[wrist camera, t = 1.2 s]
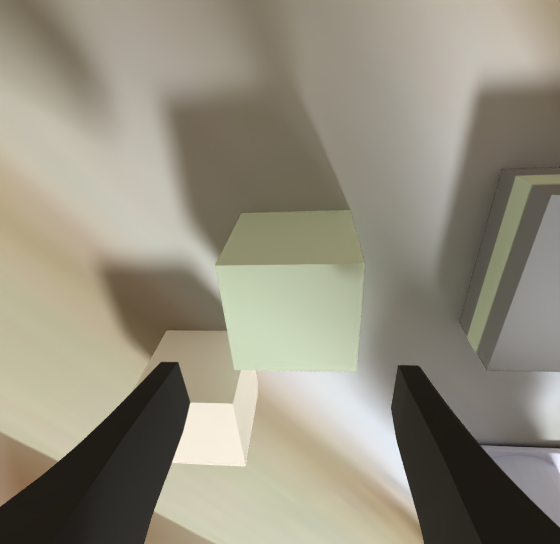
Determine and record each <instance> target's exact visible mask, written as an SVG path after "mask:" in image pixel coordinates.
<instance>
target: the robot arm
mask: <svg viewBox="0 0 560 544" xmlns="http://www.w3.org/2000/svg"><path fill="white" fill-rule="evenodd" d="M189 406H190V399H189V396H188V392H187V389H186V386H185V383H184V379H183V376H182V373H181V369H180V366H179V363H178V362H160V363H159V364H158V365H157V366H156V367H155V368H154V369H153V370H152V372H151V373H150V374H149V375H148V376H147V377H146V378H145V379H144V380H143V381H142V382H141V383H140V384H139V385H138V386H137V387H136V388H135V389H134V390H133V392H132V393H131V394H130V395H129V396H128V397H127V398H126V399H125V400H124V401H123V402H122V403H121V404H120V405H119V406H118V407H117V408H116V409H115V410H114V411H113V412H112V413H111V414H110V415H109V416H108V417H107V418H106V419H105V420H104V421H103V422H102V423H101V424H100V425H99V426H98V427H96V428H95V429H94V430H93V431H92V432H91V433H90V434H89V435H88V436H87V437H86V438H85V439H84V440H83V441H82V442H81V443H79V444H78V445H77V446H76V447H75V448H74V449H73V450H72V451H70V452H69V453H68V454H67V455H66V456H65V457H63V458H62V459H61V460H60V461H59V462H57V463H56V464H55V465H54V466H53V467H51V468H50V469H49V470H48V471H47V472H46V473H44V474H43V475H42V476H41V477H39V478H38V479H37V480H35V481H34V482H33V483H31V484H30V485H29V486H27V487H26V488H25V489H23V490H22V491H21V492H19V493H18V494H17V495H15V496H14V497H13V498H11V499H10V500H9V501H7V502H6V503H5V504H3V505H2V506H1V507H0V544H144V542H145V538H146V535H147V531H148V528H149V524H150V521H151V517H152V515H153V512H154V509H155V506H156V503H157V500H158V498H159V495H160V492H161V490H162V487H163V485H164V482H165V479H166V477H167V474H168V471H169V469H170V466H171V463H172V461H173V458H174V456H175V453H176V450H177V447H178V445H179V442H180V439H181V437H182V434H183V430H184V427H185V423H186V419H187V415H188V410H189ZM391 410H392V416H393V422H394V428H395V434H396V440H397V444H398V447H399V451H400V455H401V458H402V462H403V465H404V469H405V473H406V476H407V480H408V483H409V487H410V490H411V494H412V497H413V501H414V505H415V508H416V512H417V515H418V519H419V523H420V527H421V531H422V535H423V540H424V544H560V448H536V447H510V446H484V445H480V444H479V443H478V442H477V441H476V440H475V438H474V437H473V436H472V435H471V434H470V432H469V431H468V430H467V429H466V428H465V426H464V425H463V424H462V423H461V421H460V420H459V419H458V418H457V416H456V415H455V414H454V413H453V411H452V410H451V409H450V408H449V406H448V405H447V404H446V402H445V401H444V400H443V398H442V397H441V396H440V394H439V393H438V392H437V390H436V389H435V387H434V386H433V385H432V383H431V382H430V380H429V379H428V378H427V376H426V375H425V373H424V372H423V370H422V369H421V368H420V367H419V366H408V365H398V369H397V375H396V381H395V388H394V394H393V400H392V406H391Z"/></svg>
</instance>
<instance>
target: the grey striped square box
mask: <svg viewBox="0 0 560 544" xmlns="http://www.w3.org/2000/svg"><path fill="white" fill-rule="evenodd" d="M459 323H460V325H461V327H462V329H463V330H464V332H465V334H466V335H467V340H468V341H469V343H470V345H471V347H472V348H473V350H474V352H475V354H478V356H479V358H480V359H481V361H482V363H483V365H484V366H485V368H486V370H497V371H547V372H560V167H550V168H520V169H502V170H501V174H500V178H499V181H498V185H497V188H496V192H495V196H494V199H493V203H492V206H491V210H490V214H489V217H488V221H487V224H486V228H485V232H484V235H483V239H482V242H481V246H480V250H479V253H478V257H477V260H476V264H475V267H474V271H473V275H472V278H471V282H470V285H469V289H468V293H467V296H466V300H465V303H464V307H463V311H462V314H461V318H460V321H459Z"/></svg>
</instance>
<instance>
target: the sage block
mask: <svg viewBox="0 0 560 544" xmlns="http://www.w3.org/2000/svg"><path fill="white" fill-rule="evenodd" d="M215 268H216V274H217V279H218V284H219V290H220V295H221V301H222V306H223V311H224V317H225V322H226V328H227V333H228V338H229V344H230V349H231V355H232V360H233V366H234V370H261V371H313V372H357V363H358V350H359V337H360V324H361V311H362V298H363V285H364V272H365V261H364V258H363V254H362V250H361V247H360V243H359V239H358V236H357V232H356V228H355V225H354V221H353V217H352V213H351V210H325V211H291V212H257V213H241V214H240V216H239V218H238V220H237V223H236V225H235V227H234V229H233V231H232V233H231V235H230V237H229V239H228V241H227V243H226V245H225V247H224V249H223V251H222V253H221V255H220V257H219V259H218V261H217V263H216V265H215Z"/></svg>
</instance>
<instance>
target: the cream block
mask: <svg viewBox="0 0 560 544" xmlns="http://www.w3.org/2000/svg"><path fill="white" fill-rule="evenodd" d="M160 362H178V363H179V366H180V369H181V373H182V376H183V379H184V383H185V386H186V389H187V392H188V396H189V399H190V406H189V410H188V415H187V419H186V423H185V427H184V430H183V434H182V437H181V439H180V442H179V445H178V447H177V450H176V453H175V456H174V458H173V461H172V463H185V464H206V465H227V466H246V461H247V455H248V449H249V443H250V437H251V432H252V426H253V420H254V414H255V408H256V402H257V396H258V383H257V376H256V370H234V366H233V360H232V355H231V349H230V344H229V338H228V333H227V331H175V330H167V331H166V332H165V334H164V336H163V338H162V340H161V341H160V343H159V345H158V347H157V349H156V350H155V352H154V354H153V356H152V357H151V359H150V361H149V363H148V365H147V366H146V368H145V370H144V372H143V374H142V375H141V377H140V379H139V381H138V383H137V384H136V386H135V388H136V387H137V386H138V385H139V384H140V383H141V382H142V381H143V380H144V379H145V378H146V377H147V376H148V375H149V374H150V373H151V372H152V370H153V369H154V368H155V367H156V366H157V365H158V364H159V363H160ZM135 388H134V389H135Z"/></svg>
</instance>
